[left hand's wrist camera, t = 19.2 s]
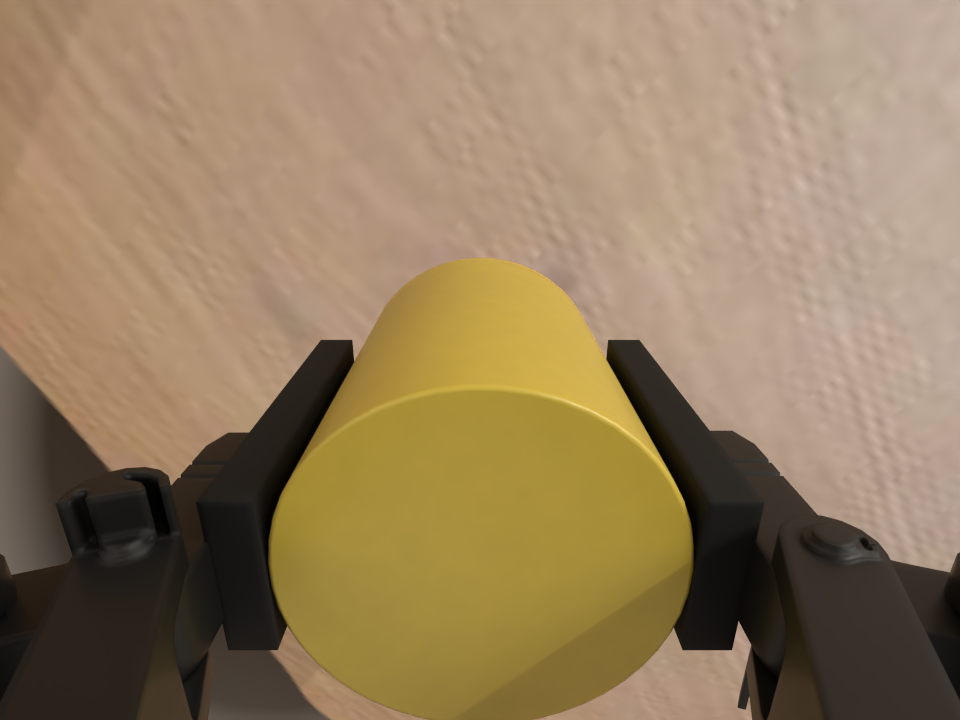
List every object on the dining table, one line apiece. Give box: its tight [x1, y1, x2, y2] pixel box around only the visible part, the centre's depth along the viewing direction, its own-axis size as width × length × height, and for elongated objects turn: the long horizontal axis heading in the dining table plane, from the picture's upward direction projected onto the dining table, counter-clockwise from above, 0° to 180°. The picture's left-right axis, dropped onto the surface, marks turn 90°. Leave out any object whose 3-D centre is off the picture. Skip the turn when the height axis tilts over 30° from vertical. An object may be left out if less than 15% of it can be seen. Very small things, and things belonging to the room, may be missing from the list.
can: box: [268, 258, 694, 720], centre depth 12 cm, size 6×6×8 cm
